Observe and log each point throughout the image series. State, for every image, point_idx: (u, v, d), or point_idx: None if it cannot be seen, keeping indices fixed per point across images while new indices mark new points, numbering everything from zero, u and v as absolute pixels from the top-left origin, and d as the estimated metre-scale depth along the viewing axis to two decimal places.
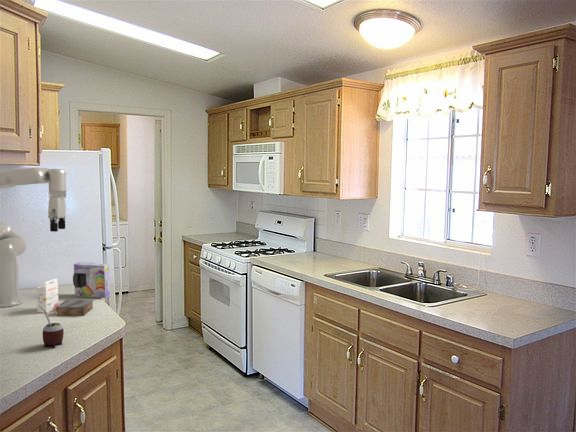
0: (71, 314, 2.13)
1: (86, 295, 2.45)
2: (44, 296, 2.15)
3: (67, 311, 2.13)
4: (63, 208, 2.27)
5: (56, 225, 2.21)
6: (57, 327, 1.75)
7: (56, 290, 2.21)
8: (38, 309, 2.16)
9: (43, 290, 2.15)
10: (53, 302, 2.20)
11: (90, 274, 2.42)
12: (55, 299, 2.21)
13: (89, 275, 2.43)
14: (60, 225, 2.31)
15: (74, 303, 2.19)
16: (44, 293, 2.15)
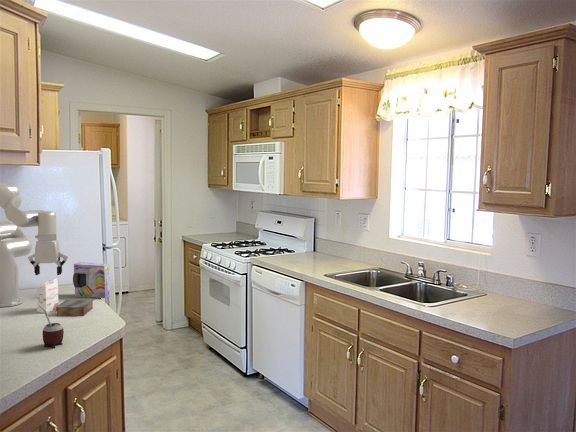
0: (71, 314, 2.13)
1: (86, 295, 2.45)
2: (44, 296, 2.15)
3: (67, 311, 2.13)
4: None
5: None
6: (57, 327, 1.75)
7: (56, 290, 2.21)
8: (38, 309, 2.16)
9: (43, 290, 2.15)
10: (53, 302, 2.20)
11: (90, 274, 2.42)
12: (55, 299, 2.21)
13: (89, 275, 2.43)
14: (37, 271, 2.17)
15: (74, 303, 2.19)
16: (44, 293, 2.15)
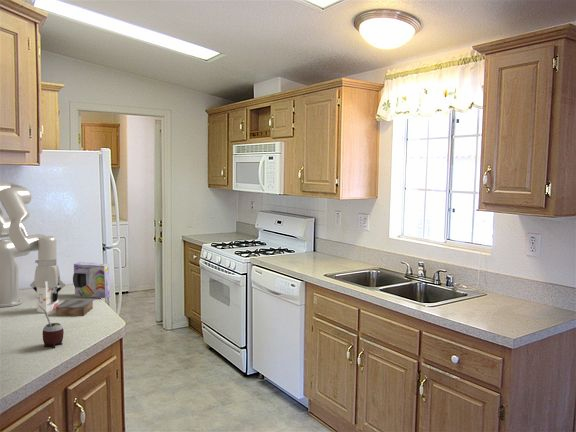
0: (71, 314, 2.13)
1: (86, 295, 2.45)
2: (44, 296, 2.15)
3: (67, 311, 2.13)
4: None
5: None
6: (57, 327, 1.75)
7: None
8: (38, 309, 2.16)
9: (43, 290, 2.15)
10: (53, 302, 2.20)
11: (90, 274, 2.42)
12: None
13: (89, 275, 2.43)
14: None
15: (74, 303, 2.19)
16: (44, 293, 2.15)
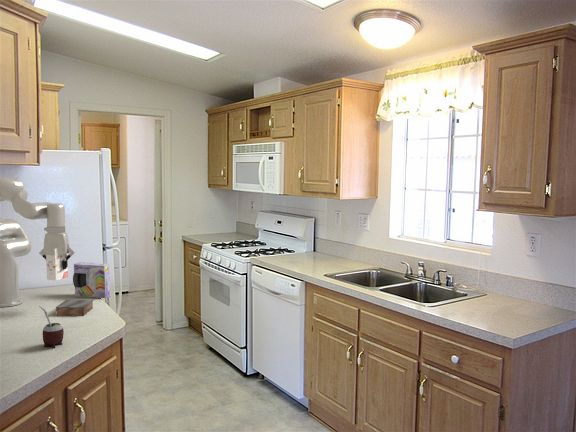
0: (71, 314, 2.13)
1: (86, 295, 2.45)
2: (54, 263, 2.13)
3: (67, 311, 2.13)
4: None
5: None
6: (57, 327, 1.75)
7: None
8: (47, 277, 2.14)
9: (52, 257, 2.13)
10: (63, 270, 2.18)
11: (90, 274, 2.42)
12: None
13: (89, 275, 2.43)
14: None
15: (74, 303, 2.19)
16: (53, 260, 2.13)
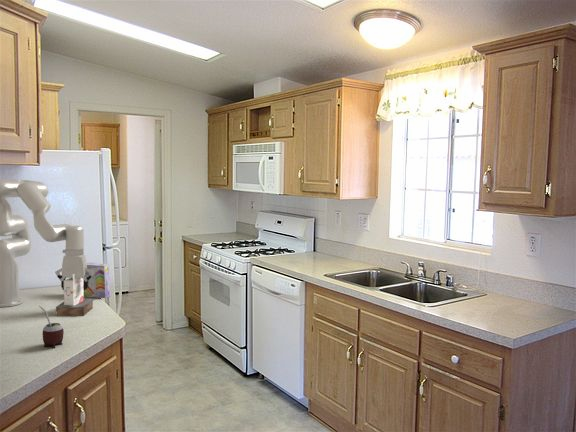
0: (71, 314, 2.13)
1: (86, 295, 2.45)
2: (71, 289, 2.14)
3: (67, 311, 2.13)
4: None
5: None
6: (57, 327, 1.75)
7: (81, 283, 2.20)
8: (65, 302, 2.15)
9: (70, 283, 2.13)
10: (80, 295, 2.19)
11: None
12: (80, 292, 2.20)
13: None
14: None
15: None
16: (71, 286, 2.13)
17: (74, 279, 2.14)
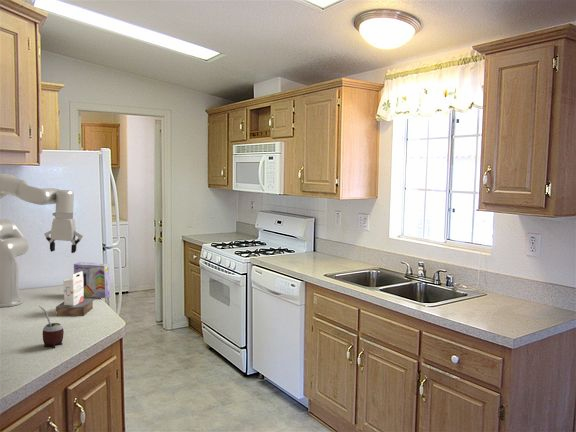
0: (71, 314, 2.13)
1: (86, 295, 2.45)
2: (71, 289, 2.14)
3: (67, 311, 2.13)
4: None
5: None
6: (57, 327, 1.75)
7: (81, 283, 2.20)
8: (65, 302, 2.15)
9: (70, 283, 2.13)
10: (80, 295, 2.19)
11: (90, 274, 2.42)
12: (80, 292, 2.20)
13: (89, 275, 2.43)
14: (53, 247, 2.23)
15: None
16: (71, 286, 2.13)
17: (74, 279, 2.14)
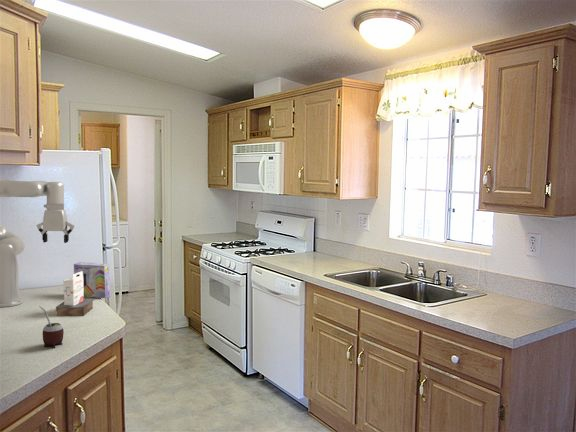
0: (71, 314, 2.13)
1: (86, 295, 2.45)
2: (71, 289, 2.14)
3: (67, 311, 2.13)
4: None
5: None
6: (57, 327, 1.75)
7: (81, 283, 2.20)
8: (65, 302, 2.15)
9: (70, 283, 2.13)
10: (80, 295, 2.19)
11: (90, 274, 2.42)
12: (80, 292, 2.20)
13: (89, 275, 2.43)
14: (45, 238, 2.28)
15: None
16: (71, 286, 2.13)
17: (74, 279, 2.14)
